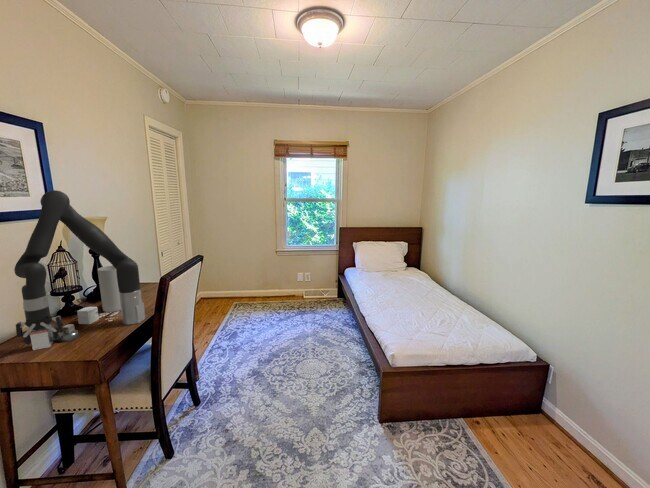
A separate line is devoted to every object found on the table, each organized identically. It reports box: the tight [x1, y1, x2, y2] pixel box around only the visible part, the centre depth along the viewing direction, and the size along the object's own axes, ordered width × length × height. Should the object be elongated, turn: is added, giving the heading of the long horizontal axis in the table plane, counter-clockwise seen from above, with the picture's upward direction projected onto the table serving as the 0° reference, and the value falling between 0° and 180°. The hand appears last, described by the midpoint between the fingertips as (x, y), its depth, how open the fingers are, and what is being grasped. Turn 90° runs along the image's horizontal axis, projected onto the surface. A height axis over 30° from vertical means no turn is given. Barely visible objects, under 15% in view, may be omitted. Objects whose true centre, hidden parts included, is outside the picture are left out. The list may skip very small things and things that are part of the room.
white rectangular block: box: [29, 328, 54, 351], centre depth 124 cm, size 6×6×8 cm
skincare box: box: [76, 306, 100, 325], centre depth 148 cm, size 6×6×7 cm
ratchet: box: [29, 323, 80, 343], centre depth 130 cm, size 21×6×6 cm, turn 93°
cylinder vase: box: [97, 265, 121, 313], centre depth 164 cm, size 12×12×25 cm
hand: (42, 341), depth 124 cm, fingers open, 8 cm apart
